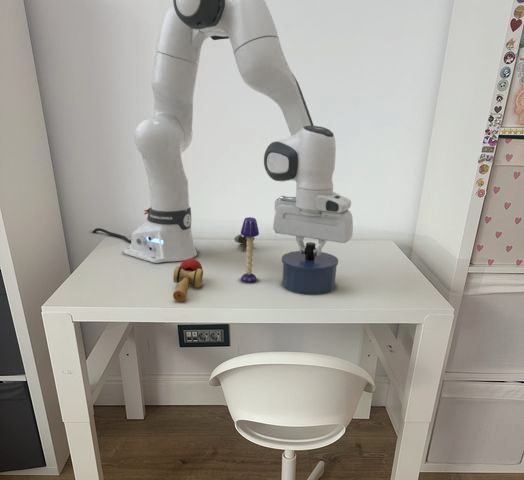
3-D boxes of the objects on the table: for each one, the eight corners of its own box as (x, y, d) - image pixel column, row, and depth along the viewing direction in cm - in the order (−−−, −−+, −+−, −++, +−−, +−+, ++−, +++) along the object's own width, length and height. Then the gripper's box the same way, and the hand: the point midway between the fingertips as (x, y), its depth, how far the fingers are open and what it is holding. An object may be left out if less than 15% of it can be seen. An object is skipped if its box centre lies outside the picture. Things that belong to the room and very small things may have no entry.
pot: (274, 288, 129) (274, 264, 126) (294, 273, 140) (295, 250, 137) (323, 298, 124) (325, 273, 121) (341, 281, 134) (343, 258, 131)
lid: (271, 266, 126) (272, 246, 123) (294, 251, 138) (295, 233, 135) (326, 276, 120) (328, 255, 118) (345, 260, 132) (347, 240, 129)
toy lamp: (261, 280, 134) (262, 217, 126) (252, 285, 131) (252, 221, 123) (246, 276, 136) (246, 215, 128) (237, 281, 133) (236, 218, 125)
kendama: (199, 307, 120) (210, 272, 135) (192, 284, 117) (204, 251, 131) (168, 311, 121) (182, 276, 136) (161, 288, 118) (176, 255, 132)
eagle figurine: (261, 248, 156) (263, 235, 163) (248, 230, 153) (251, 218, 160) (241, 259, 159) (244, 246, 166) (228, 241, 156) (232, 229, 163)
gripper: (269, 197, 123) (268, 251, 129) (349, 206, 115) (343, 264, 121) (280, 192, 128) (278, 245, 134) (357, 201, 120) (351, 257, 126)
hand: (310, 254), depth 128 cm, fingers closed on lid, 2 cm apart
